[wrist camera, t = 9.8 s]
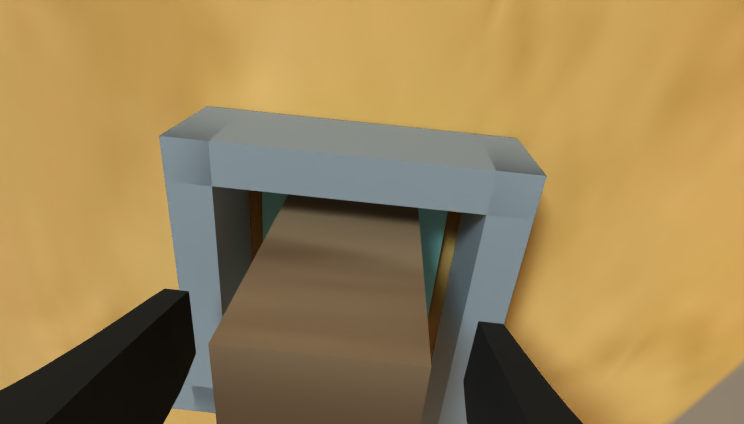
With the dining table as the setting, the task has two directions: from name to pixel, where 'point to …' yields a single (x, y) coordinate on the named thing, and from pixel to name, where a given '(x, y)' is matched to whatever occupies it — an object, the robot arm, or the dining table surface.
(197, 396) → the grey open rectangular frame
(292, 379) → the block
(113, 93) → the dining table surface
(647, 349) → the dining table surface
